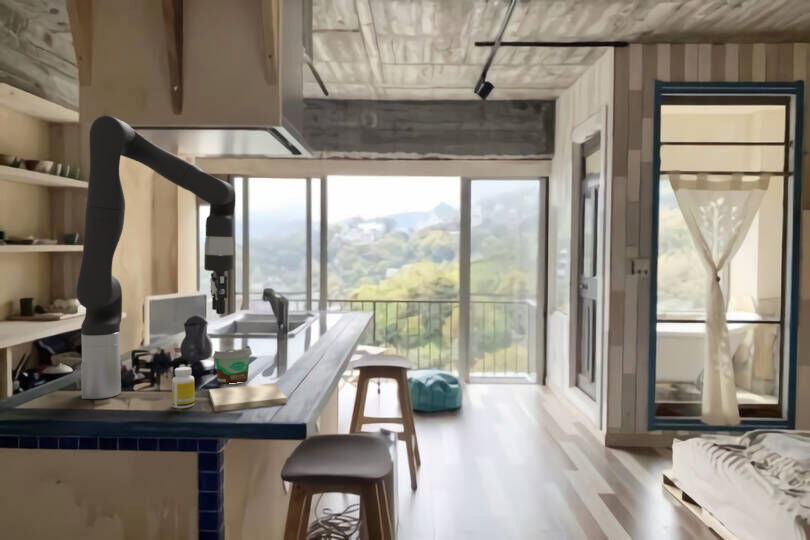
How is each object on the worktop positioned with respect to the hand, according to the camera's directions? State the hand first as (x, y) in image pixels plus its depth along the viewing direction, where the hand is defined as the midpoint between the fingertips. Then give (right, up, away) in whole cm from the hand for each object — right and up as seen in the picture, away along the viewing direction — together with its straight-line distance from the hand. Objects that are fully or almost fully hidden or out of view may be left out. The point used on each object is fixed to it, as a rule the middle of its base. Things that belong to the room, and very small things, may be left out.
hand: (218, 311), depth 155 cm
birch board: (+9, -23, -3) cm, 25 cm away
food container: (+1, -23, +14) cm, 27 cm away
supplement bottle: (-6, -24, -10) cm, 26 cm away
